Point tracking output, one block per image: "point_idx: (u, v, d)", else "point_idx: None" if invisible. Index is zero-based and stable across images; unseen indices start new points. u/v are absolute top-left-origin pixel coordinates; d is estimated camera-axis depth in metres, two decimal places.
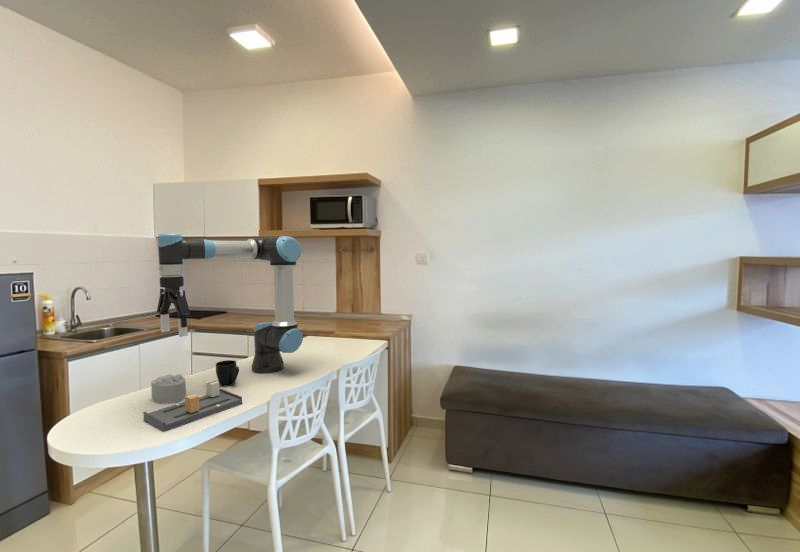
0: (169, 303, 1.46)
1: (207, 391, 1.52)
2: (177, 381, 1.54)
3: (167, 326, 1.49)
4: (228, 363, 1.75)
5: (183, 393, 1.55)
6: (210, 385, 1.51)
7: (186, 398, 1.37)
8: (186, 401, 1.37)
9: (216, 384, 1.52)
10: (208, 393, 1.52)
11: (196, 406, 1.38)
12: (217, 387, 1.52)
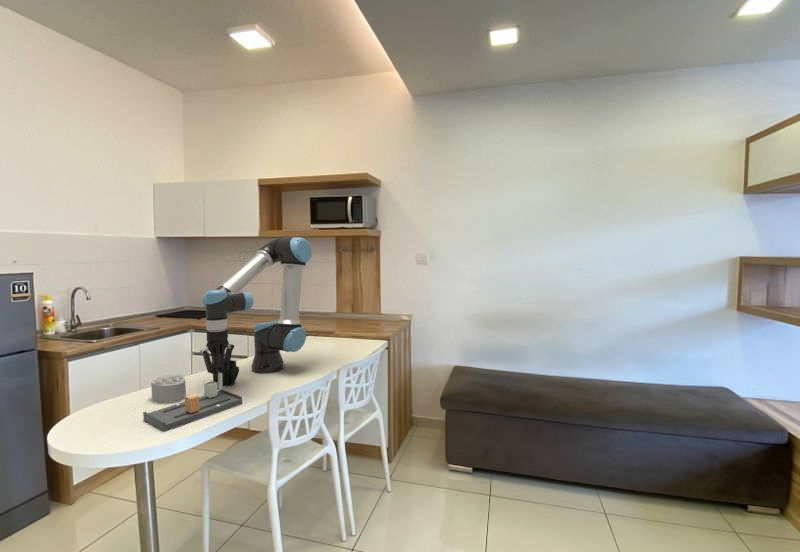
0: (220, 357, 1.54)
1: (204, 391, 1.52)
2: (177, 381, 1.54)
3: None
4: None
5: (183, 393, 1.55)
6: (208, 386, 1.50)
7: (186, 398, 1.37)
8: (186, 401, 1.37)
9: (214, 385, 1.51)
10: (206, 394, 1.51)
11: (196, 406, 1.38)
12: (215, 388, 1.51)
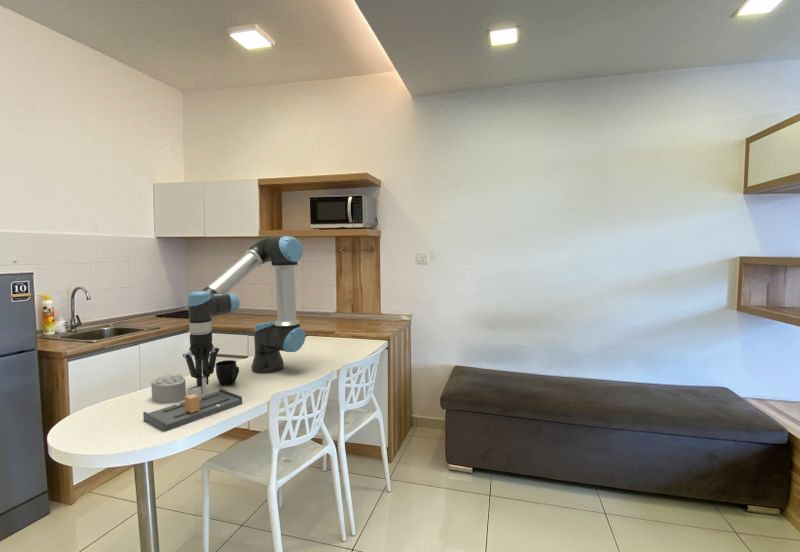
0: (204, 361, 1.49)
1: None
2: (177, 381, 1.54)
3: None
4: (228, 363, 1.75)
5: (183, 393, 1.55)
6: (191, 391, 1.45)
7: (186, 398, 1.37)
8: (186, 401, 1.37)
9: (197, 390, 1.46)
10: None
11: (196, 406, 1.38)
12: (198, 393, 1.46)
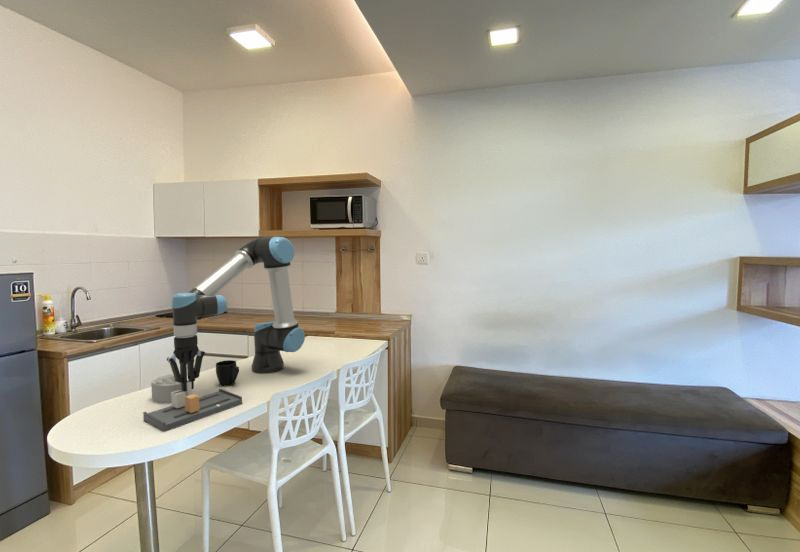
0: (189, 365, 1.44)
1: (172, 401, 1.42)
2: None
3: None
4: (228, 363, 1.75)
5: None
6: (175, 395, 1.40)
7: (186, 398, 1.37)
8: (186, 401, 1.37)
9: (182, 395, 1.41)
10: (173, 404, 1.41)
11: (196, 406, 1.38)
12: (183, 397, 1.42)
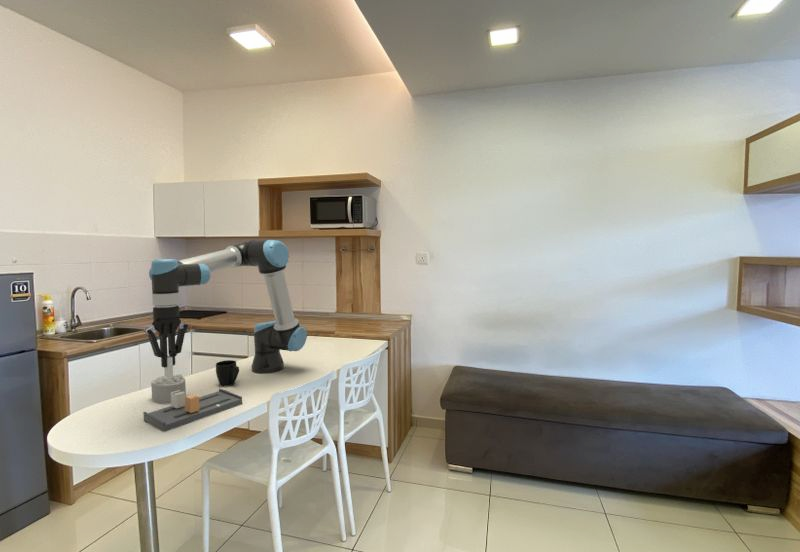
0: (170, 338, 1.31)
1: (171, 401, 1.42)
2: (177, 381, 1.54)
3: None
4: (228, 363, 1.75)
5: None
6: (175, 395, 1.40)
7: (186, 398, 1.37)
8: (186, 401, 1.37)
9: (181, 395, 1.41)
10: (173, 404, 1.41)
11: (196, 406, 1.38)
12: (183, 397, 1.41)
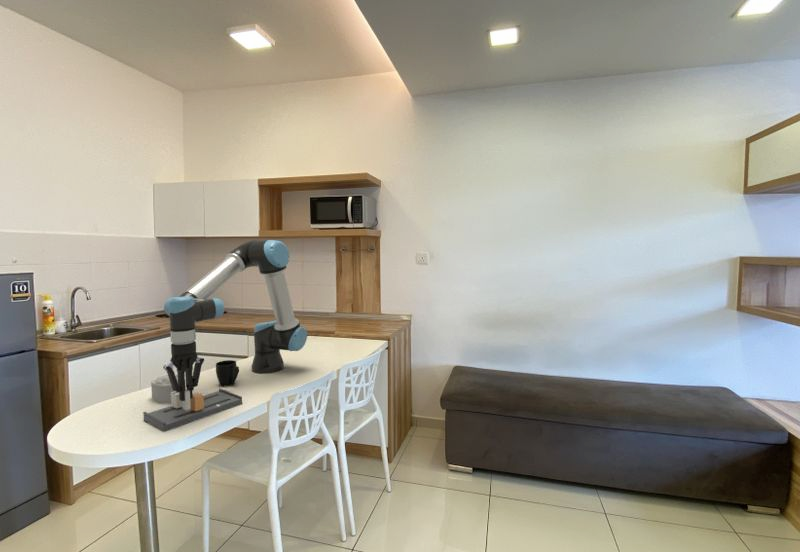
0: (187, 373, 1.36)
1: (171, 401, 1.42)
2: (177, 381, 1.54)
3: None
4: (228, 363, 1.75)
5: None
6: (175, 395, 1.40)
7: None
8: (191, 400, 1.38)
9: None
10: (173, 404, 1.41)
11: (201, 404, 1.39)
12: None
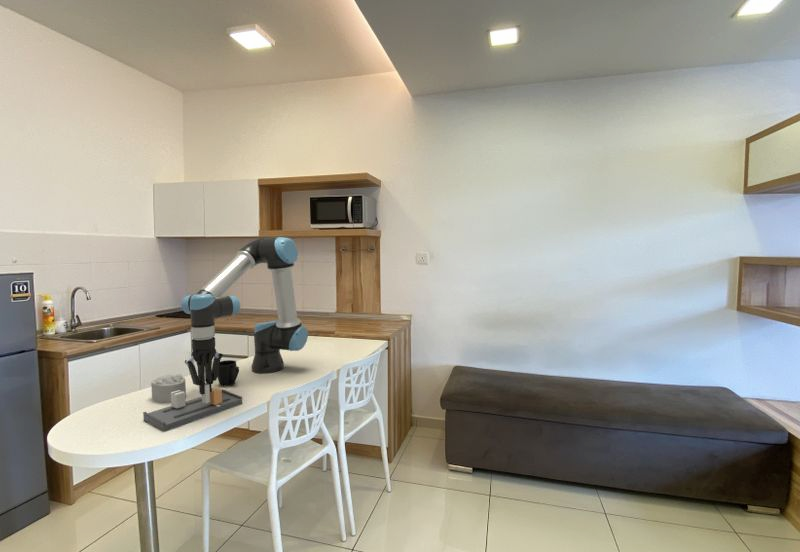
0: (207, 367, 1.42)
1: (171, 401, 1.42)
2: (177, 381, 1.54)
3: None
4: (228, 363, 1.75)
5: None
6: (175, 395, 1.40)
7: None
8: (210, 394, 1.44)
9: (181, 395, 1.41)
10: (173, 404, 1.41)
11: (219, 398, 1.44)
12: (183, 397, 1.41)
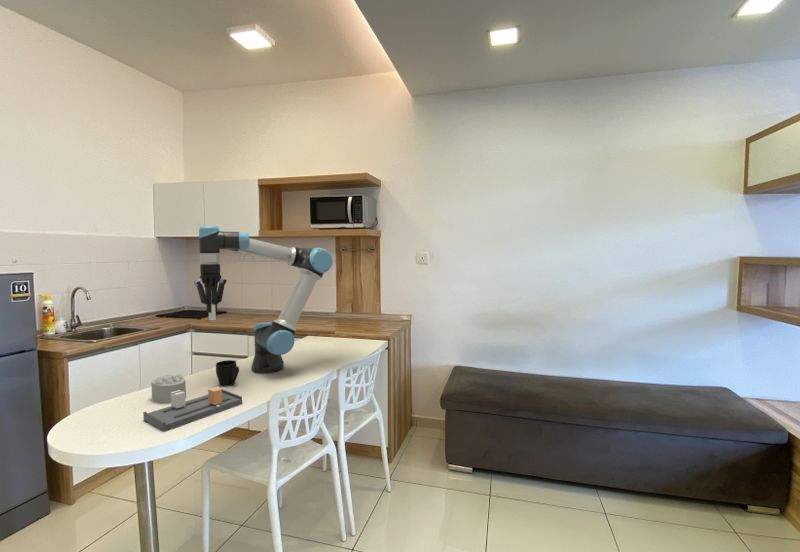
0: (213, 290, 1.64)
1: (171, 401, 1.42)
2: (177, 381, 1.54)
3: None
4: (228, 363, 1.75)
5: None
6: (175, 395, 1.40)
7: (210, 391, 1.44)
8: (210, 394, 1.44)
9: (181, 395, 1.41)
10: (173, 404, 1.41)
11: (219, 398, 1.44)
12: (183, 397, 1.41)
